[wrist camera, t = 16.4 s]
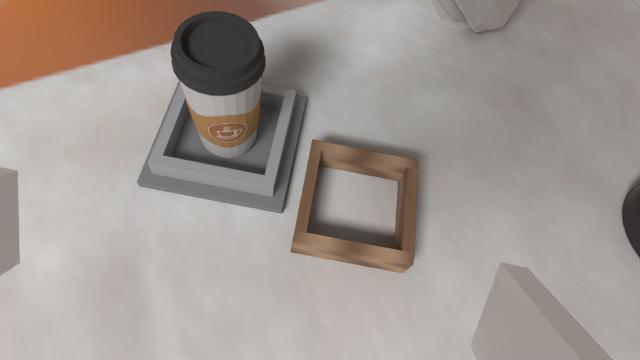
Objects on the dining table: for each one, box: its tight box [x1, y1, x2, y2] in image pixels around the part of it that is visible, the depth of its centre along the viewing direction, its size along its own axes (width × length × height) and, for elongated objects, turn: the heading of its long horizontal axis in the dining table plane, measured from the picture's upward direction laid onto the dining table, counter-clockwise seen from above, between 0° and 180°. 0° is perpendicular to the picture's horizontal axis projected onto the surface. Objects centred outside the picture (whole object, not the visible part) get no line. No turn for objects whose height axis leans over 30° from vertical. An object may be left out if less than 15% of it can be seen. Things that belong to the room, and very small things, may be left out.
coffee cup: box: [171, 11, 265, 158], centre depth 42 cm, size 8×8×15 cm
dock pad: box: [137, 81, 306, 213], centre depth 48 cm, size 16×16×4 cm
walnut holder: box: [291, 140, 418, 273], centre depth 46 cm, size 12×12×4 cm
